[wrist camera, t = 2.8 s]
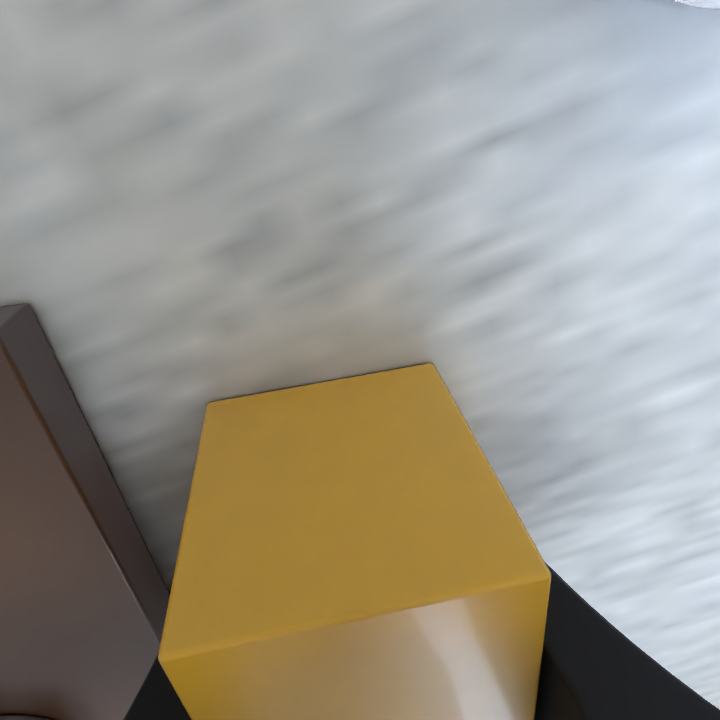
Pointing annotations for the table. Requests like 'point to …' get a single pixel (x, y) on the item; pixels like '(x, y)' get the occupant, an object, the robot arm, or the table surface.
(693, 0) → the can
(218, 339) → the table surface
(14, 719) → the silver rod with disc
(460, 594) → the block
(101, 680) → the board
